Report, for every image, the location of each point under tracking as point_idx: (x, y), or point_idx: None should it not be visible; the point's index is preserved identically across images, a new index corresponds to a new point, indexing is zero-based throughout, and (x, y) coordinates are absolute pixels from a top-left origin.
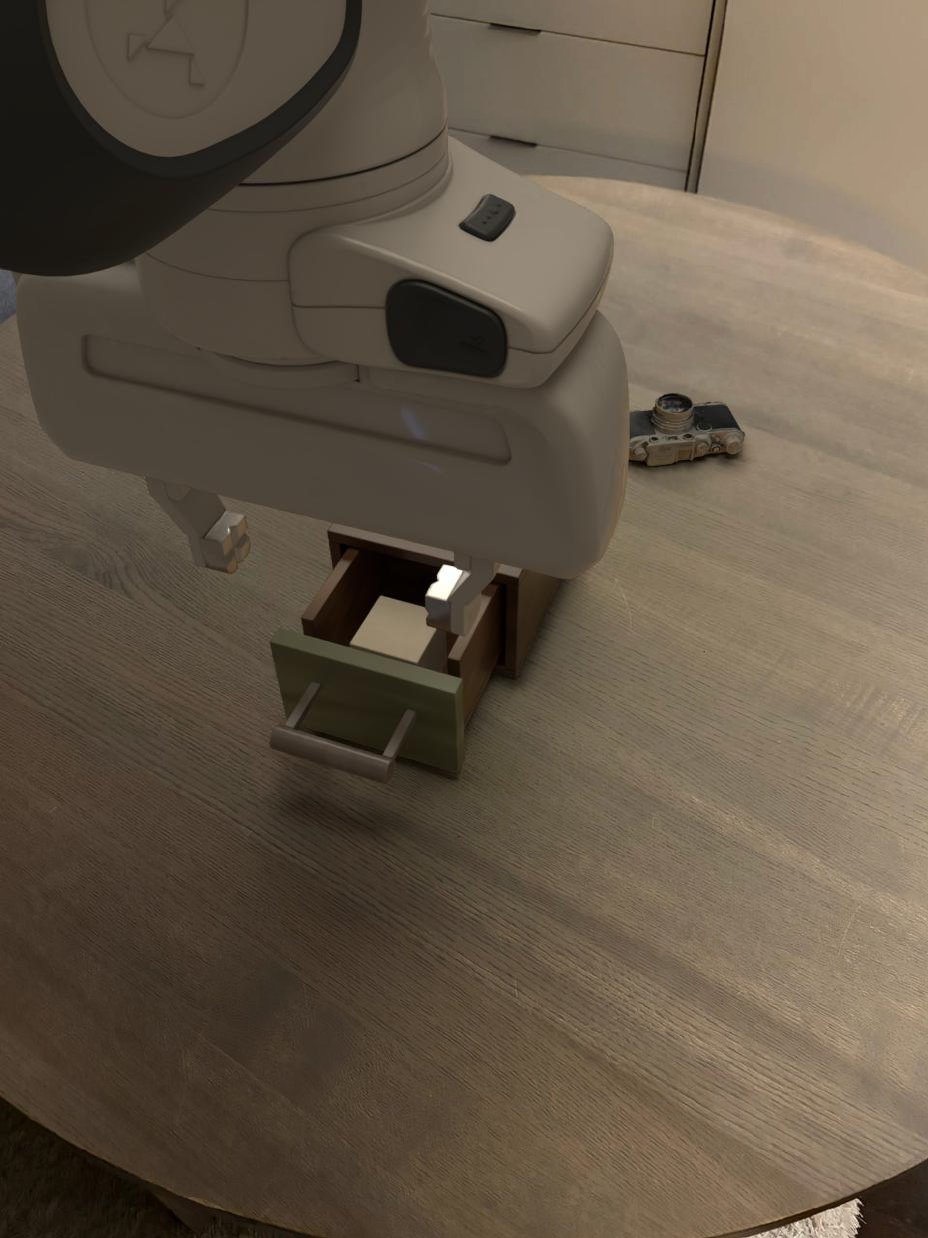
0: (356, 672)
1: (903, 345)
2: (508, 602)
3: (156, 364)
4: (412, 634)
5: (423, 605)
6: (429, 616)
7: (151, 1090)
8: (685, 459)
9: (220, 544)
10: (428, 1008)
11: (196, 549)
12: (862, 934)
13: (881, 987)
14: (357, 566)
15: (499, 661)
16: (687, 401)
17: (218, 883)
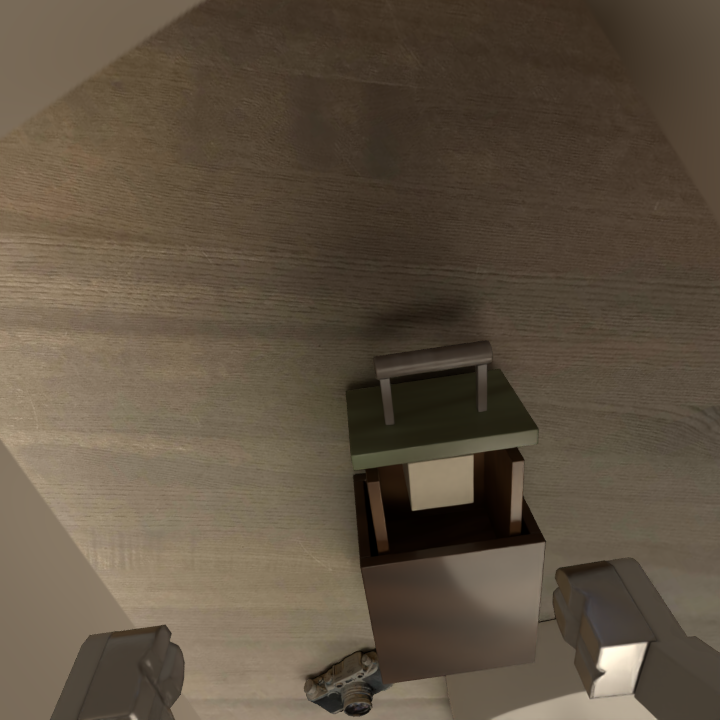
0: (447, 436)
1: None
2: (366, 540)
3: None
4: (426, 483)
5: None
6: (140, 657)
7: (426, 16)
8: (337, 664)
9: (602, 644)
10: (257, 208)
11: (649, 602)
12: (22, 410)
13: None
14: (505, 518)
15: None
16: (350, 712)
17: (477, 217)
